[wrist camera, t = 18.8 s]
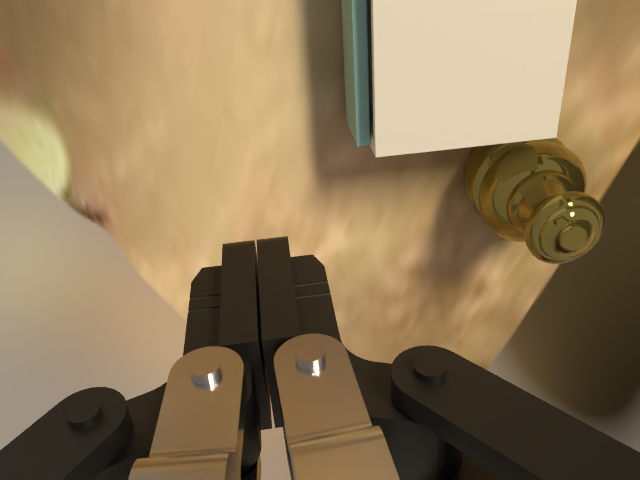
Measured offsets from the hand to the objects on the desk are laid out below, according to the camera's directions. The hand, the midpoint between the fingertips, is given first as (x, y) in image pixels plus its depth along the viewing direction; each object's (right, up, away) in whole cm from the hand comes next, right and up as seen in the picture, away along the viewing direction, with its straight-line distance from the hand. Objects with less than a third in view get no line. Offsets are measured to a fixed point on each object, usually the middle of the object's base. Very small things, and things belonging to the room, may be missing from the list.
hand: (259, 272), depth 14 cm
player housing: (+9, +15, +24) cm, 30 cm away
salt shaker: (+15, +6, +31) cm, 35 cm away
